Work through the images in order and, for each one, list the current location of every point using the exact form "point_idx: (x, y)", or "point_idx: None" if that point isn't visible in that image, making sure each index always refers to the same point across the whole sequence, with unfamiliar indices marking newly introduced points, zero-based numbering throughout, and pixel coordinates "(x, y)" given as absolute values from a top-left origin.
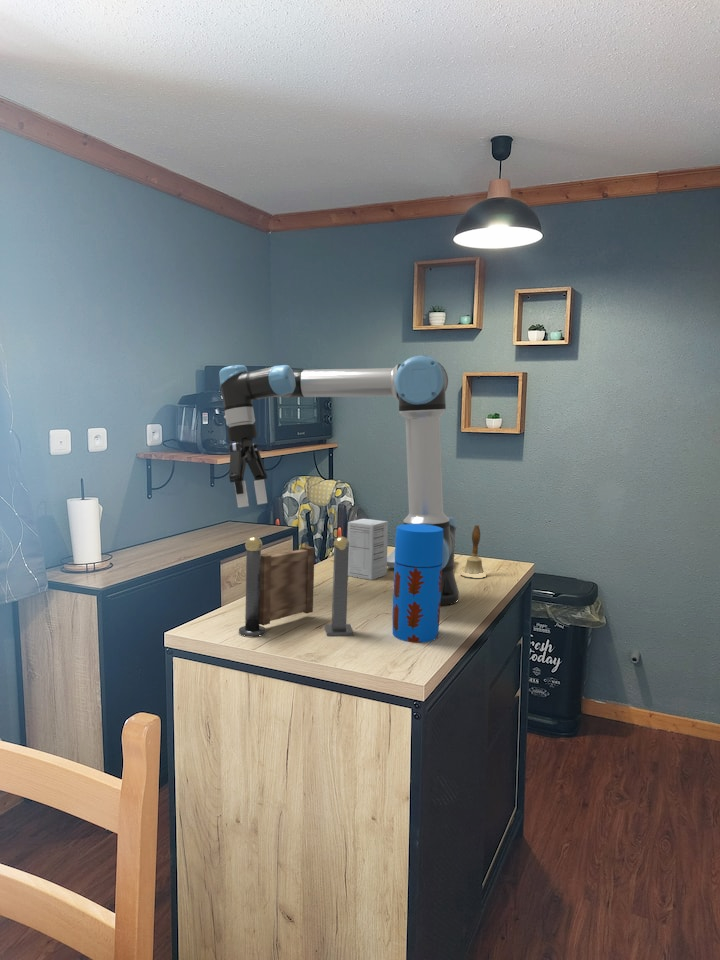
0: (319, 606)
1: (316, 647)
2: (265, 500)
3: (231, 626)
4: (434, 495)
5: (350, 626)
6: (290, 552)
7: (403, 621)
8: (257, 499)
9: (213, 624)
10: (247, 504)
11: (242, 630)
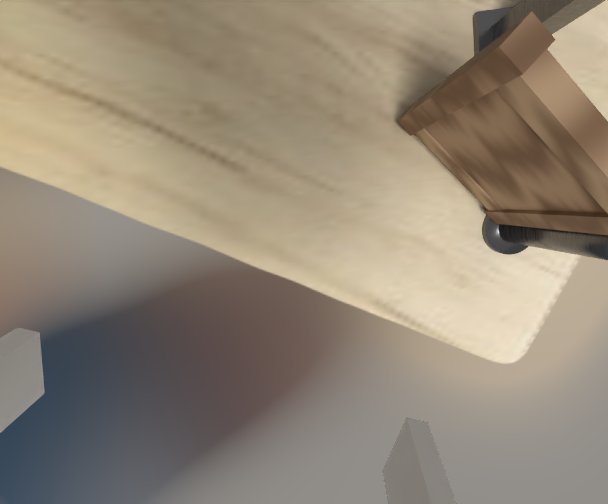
0: (315, 95)
1: (593, 91)
2: (19, 352)
3: (468, 273)
4: None
5: (494, 11)
6: (581, 122)
7: None
8: (8, 419)
9: (457, 309)
10: (430, 435)
11: (519, 246)
